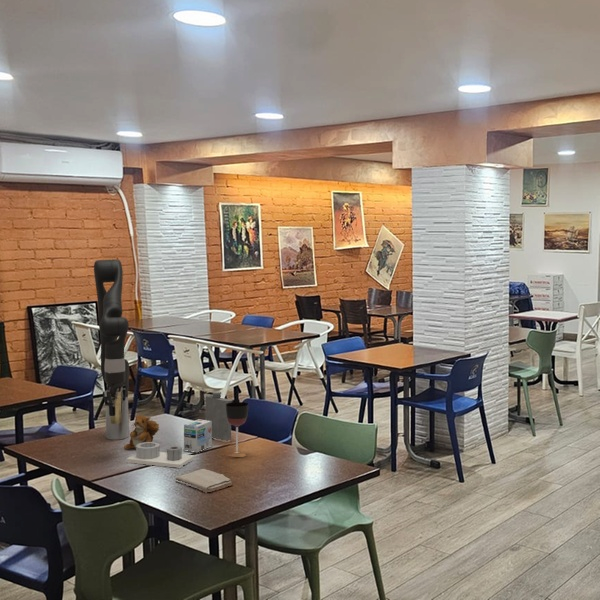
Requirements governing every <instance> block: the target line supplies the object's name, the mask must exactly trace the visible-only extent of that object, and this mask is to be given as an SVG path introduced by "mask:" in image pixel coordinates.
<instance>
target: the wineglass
mask: <svg viewBox="0 0 600 600" xmlns="http://www.w3.org/2000/svg"><path fill="white" fill-rule="evenodd" d="M248 412H249V403H248V402H243V401H233V402H232V401H231V403H227V404H226V414H227V419H228V422H229V423H230V424H231V426H233V427H235V453H239V427H240V426H242V425H244V424H245V423H246V422H247V419H248Z"/></svg>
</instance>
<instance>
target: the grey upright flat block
mask: <svg viewBox="0 0 600 600" xmlns="http://www.w3.org/2000/svg"><path fill="white" fill-rule="evenodd" d="M221 396H222V391H213V392H212V394H205V420H207V421H212V437H213V438H216V439H221V440H226V441H228V440H231V441H232V424H230V423H229V422H228V419H227V414H226V404H227V403H232V399H229V398H225V397H221Z"/></svg>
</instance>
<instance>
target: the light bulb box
mask: <svg viewBox="0 0 600 600" xmlns="http://www.w3.org/2000/svg"><path fill="white" fill-rule="evenodd" d="M212 443H213V439H212V421H207V420H206V419H199V418H198V419H196V420H193V421H190V422H188V423H187V422H186V423H184V424H183V451H184V450H188V451H194V452H199V451H201V450H203V449H205V448H207V447H209V446H211V445H212V446H213V444H212ZM201 452H202V451H201ZM199 453H200V452H199Z"/></svg>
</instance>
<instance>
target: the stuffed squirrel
mask: <svg viewBox="0 0 600 600" xmlns="http://www.w3.org/2000/svg"><path fill="white" fill-rule="evenodd" d="M159 426H160V424H159V423H157V422H156V421H154V420H151V416H145V415H141V414H140V415H138V414H136V415H135V420H134V422H133V424H132V425H131V427H132V428H133V430H132V431H131V432H129V437H130V439H129V443H127V444H125V445H124V447H123V448H124V450H132V449H136V445H137V444H139V443H144V442H154V436H155V435H156V433H158V431H160V427H159ZM134 427H135V428H134Z"/></svg>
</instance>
